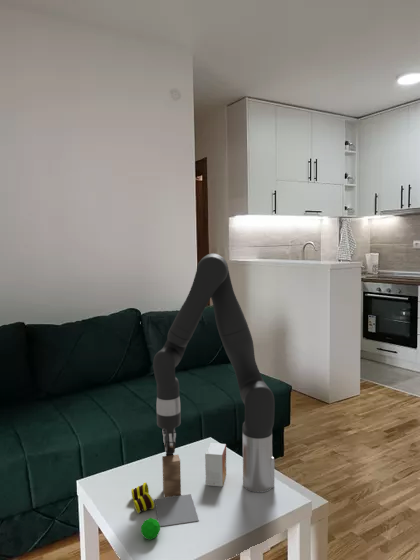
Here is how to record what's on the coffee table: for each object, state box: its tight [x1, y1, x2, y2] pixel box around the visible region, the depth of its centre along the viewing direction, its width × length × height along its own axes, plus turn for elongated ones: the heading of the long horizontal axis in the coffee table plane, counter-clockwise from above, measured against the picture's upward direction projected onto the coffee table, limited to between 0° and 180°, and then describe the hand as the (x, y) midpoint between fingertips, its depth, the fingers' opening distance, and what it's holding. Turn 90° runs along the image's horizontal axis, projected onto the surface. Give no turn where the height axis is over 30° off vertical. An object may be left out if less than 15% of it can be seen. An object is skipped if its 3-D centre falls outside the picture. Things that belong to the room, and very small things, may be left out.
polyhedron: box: [140, 517, 161, 540], centre depth 115 cm, size 5×5×5 cm
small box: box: [204, 442, 227, 487], centre depth 142 cm, size 8×6×10 cm
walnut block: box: [161, 454, 182, 498], centre depth 135 cm, size 5×4×11 cm
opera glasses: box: [131, 481, 155, 514], centre depth 130 cm, size 10×5×5 cm, turn 19°
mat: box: [154, 493, 200, 528], centre depth 127 cm, size 11×13×1 cm
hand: (169, 462), depth 140 cm, fingers closed
